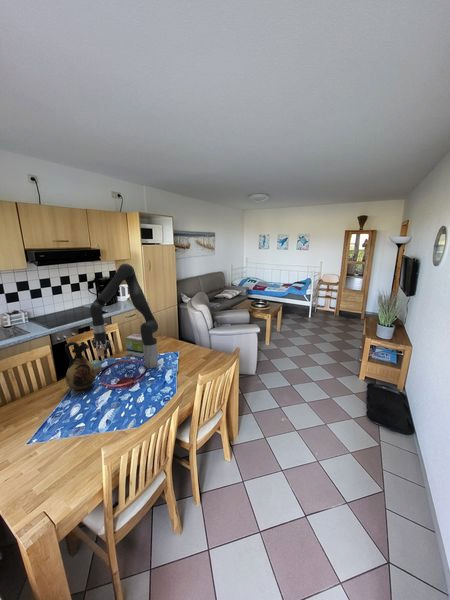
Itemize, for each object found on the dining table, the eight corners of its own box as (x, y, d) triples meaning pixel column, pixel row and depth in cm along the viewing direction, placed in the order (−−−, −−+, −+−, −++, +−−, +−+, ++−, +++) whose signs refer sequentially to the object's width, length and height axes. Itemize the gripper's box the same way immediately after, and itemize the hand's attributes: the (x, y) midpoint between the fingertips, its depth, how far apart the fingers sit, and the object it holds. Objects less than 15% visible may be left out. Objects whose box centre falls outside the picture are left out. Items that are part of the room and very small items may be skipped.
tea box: (126, 355, 191) (124, 337, 188) (134, 350, 200) (133, 333, 197) (142, 357, 187) (141, 339, 183) (150, 352, 196) (149, 335, 193)
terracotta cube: (107, 353, 171) (106, 347, 170) (103, 356, 166) (102, 350, 165) (102, 353, 172) (101, 347, 171) (97, 355, 167) (96, 349, 166)
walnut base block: (101, 373, 164) (101, 367, 163) (92, 375, 161) (92, 370, 160) (99, 369, 168) (99, 364, 167) (91, 372, 165) (90, 367, 164)
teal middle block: (101, 366, 165) (100, 361, 164) (94, 369, 160) (93, 364, 160) (97, 364, 167) (96, 359, 166) (90, 367, 163) (89, 362, 162)
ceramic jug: (98, 379, 156) (93, 335, 149) (95, 392, 142) (89, 345, 135) (67, 384, 150) (61, 339, 143) (61, 399, 136) (53, 349, 129)
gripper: (112, 329, 167) (115, 352, 171) (94, 328, 170) (97, 351, 174) (104, 333, 160) (107, 357, 164) (86, 332, 163) (89, 355, 167)
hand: (102, 353), depth 169 cm, fingers closed on terracotta cube, 4 cm apart
